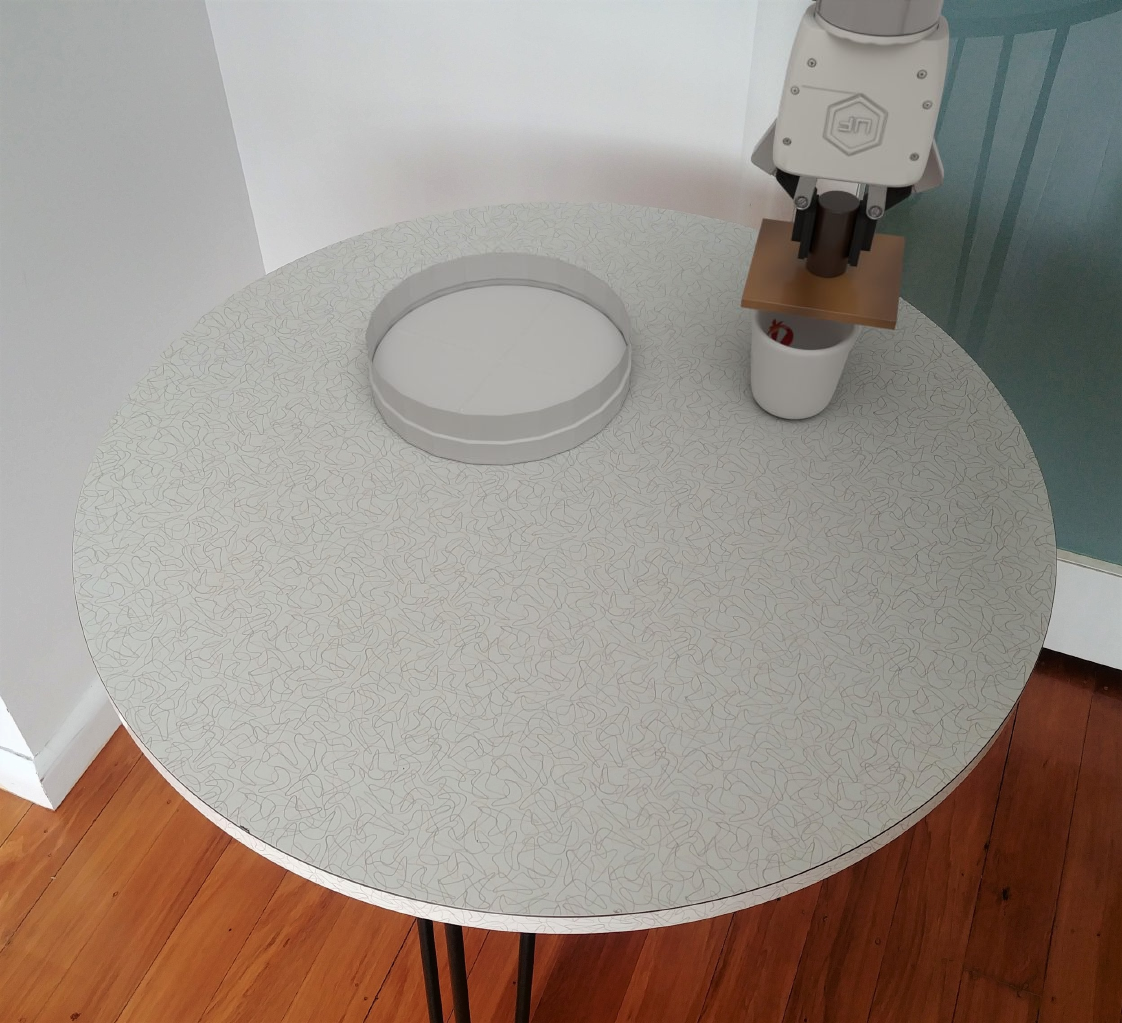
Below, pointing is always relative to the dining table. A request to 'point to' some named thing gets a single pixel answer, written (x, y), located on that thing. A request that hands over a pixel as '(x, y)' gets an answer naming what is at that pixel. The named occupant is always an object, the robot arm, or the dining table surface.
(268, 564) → the dining table surface
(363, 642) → the dining table surface
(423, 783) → the dining table surface
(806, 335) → the cup
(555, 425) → the dish
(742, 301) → the square peg stand
